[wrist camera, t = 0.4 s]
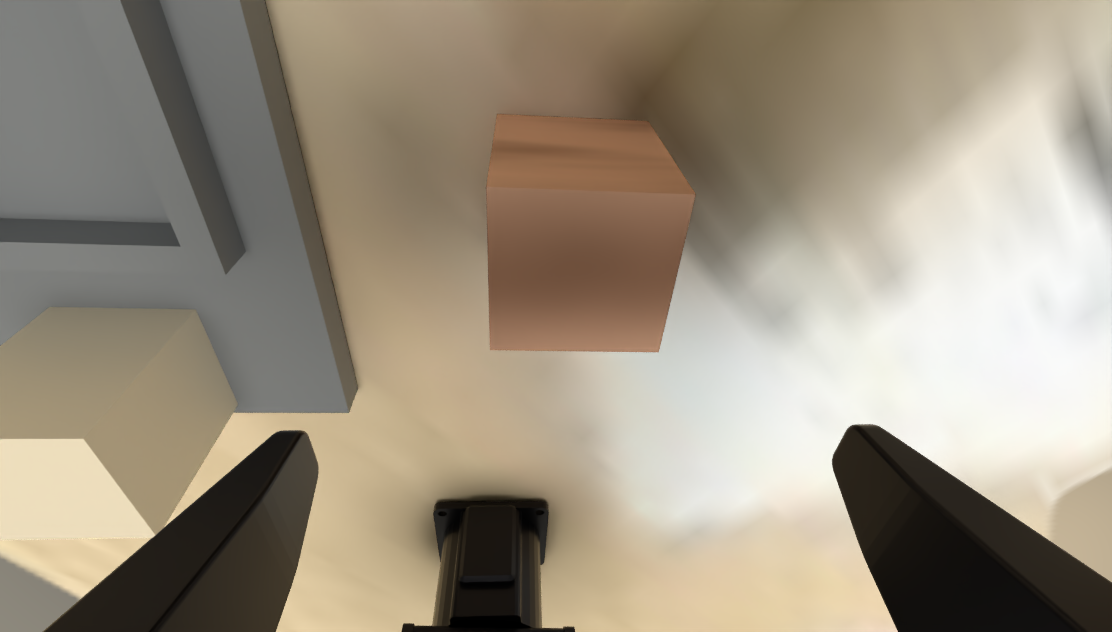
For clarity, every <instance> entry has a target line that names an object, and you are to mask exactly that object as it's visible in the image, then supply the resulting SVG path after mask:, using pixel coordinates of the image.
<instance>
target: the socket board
mask: <svg viewBox="0 0 1112 632" xmlns="http://www.w3.org/2000/svg"><path fill="white" fill-rule="evenodd" d="M357 389H358V387H357V383H356V379H355V375H354V370H353V366H352V362H351V358H350V354H349V350H348V345H347V341H346V337H345V333H344V329H343V325H342V320H341V316H340V312H339V308H338V304H337V300H336V295H335V291H334V287H333V283H332V279H331V275H330V270H329V266H328V262H327V258H326V254H325V250H324V245H323V241H322V237H321V233H320V229H319V225H318V220H317V216H316V212H315V208H314V204H313V200H312V195H311V191H310V187H309V183H308V179H307V175H306V170H305V166H304V162H303V158H302V154H301V150H300V145H299V141H298V137H297V133H296V129H295V125H294V120H293V116H292V112H291V108H290V104H289V100H288V95H287V91H286V87H285V83H284V79H283V75H282V70H281V66H280V62H279V58H278V54H277V50H276V45H275V41H274V37H273V33H272V29H271V25H270V20H269V16H268V12H267V8H266V4H265V0H0V540H48V539H117V538H153V537H154V536H155V535H156V534H157V533H158V532H160V531H161V530H162V529H163V528H164V526H165V525H166V523H167V521H168V520H169V518H170V516H171V515H172V513H173V511H174V510H175V508H176V506H177V505H178V503H179V501H180V500H181V498H182V496H183V495H184V493H185V491H186V490H187V488H188V486H189V485H190V483H191V482H192V480H193V478H194V477H195V475H196V473H197V472H198V470H199V468H200V467H201V465H202V463H203V462H204V460H205V458H206V457H207V455H208V453H209V452H210V450H211V448H212V447H213V445H214V443H215V442H216V440H217V438H218V437H219V435H220V434H221V432H222V430H223V429H224V427H225V425H226V424H227V422H228V420H229V419H230V417H231V415H232V414H233V413H349V411H350V409H351V406H352V403H353V400H354V398H355V395H356V392H357Z"/></svg>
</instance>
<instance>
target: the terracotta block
mask: <svg viewBox="0 0 1112 632" xmlns="http://www.w3.org/2000/svg"><path fill="white" fill-rule="evenodd" d="M695 196H696V194H695V192H694V191H693V189H692V188H691V186H690V185H689V183H688V182H687V180H686V179H685V177H684V175H683V174H682V172H681V171H680V169H679V168H678V166H677V165H676V163H675V162H674V160H673V159H672V157H671V155H670V154H669V152H668V151H667V149H666V148H665V146H664V145H663V143H662V142H661V140H660V139H659V137H658V135H657V134H656V132H655V131H654V129H653V128H652V126H651V125H650V123H649V122H648V121H637V120H615V119H594V118H573V117H552V116H530V115H509V114H497V118H496V125H495V132H494V138H493V145H492V152H491V158H490V165H489V172H488V178H487V185H486V199H487V242H488V285H489V328H490V350H525V351H602V352H659V349H660V344H661V340H662V336H663V332H664V327H665V323H666V319H667V315H668V311H669V306H670V302H671V298H672V294H673V289H674V285H675V281H676V277H677V272H678V268H679V264H680V260H681V255H682V251H683V247H684V243H685V239H686V234H687V230H688V226H689V222H690V217H691V213H692V209H693V205H694V200H695Z"/></svg>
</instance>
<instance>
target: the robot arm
mask: <svg viewBox="0 0 1112 632" xmlns="http://www.w3.org/2000/svg"><path fill="white" fill-rule="evenodd" d="M832 466H833V471H834V474H835V477H836V479H837V482H838V485H839V488H840V491H841V494H842V497H843V500H844V503H845V505H846V508H847V511H848V514H849V517H850V520H851V523H852V526H853V529H854V531H855V534H856V537H857V540H858V543H859V545H860V548H861V551H862V553H863V556H864V558H865V560H866V563H867V565H868V567H869V570H870V572H871V574H872V576H873V578H874V581H875V583H876V585H877V587H878V589H879V591H880V594H881V596H882V598H883V600H884V602H885V604H886V607H887V609H888V611H889V613H890V615H891V617H892V620H893V622H894V624H895V626H896V628H897V630H898V632H1112V582H1110V581H1109V580H1107V579H1106V578H1104V577H1103V576H1101V575H1100V574H1098V573H1097V572H1095V571H1094V570H1093V569H1091V568H1089V567H1088V566H1087V565H1085V564H1084V563H1082V562H1081V561H1079V560H1078V559H1076V558H1074V557H1073V556H1072V555H1070V554H1069V553H1067V552H1066V551H1064V550H1063V549H1061V548H1060V547H1058V546H1057V545H1055V544H1054V543H1052V542H1051V541H1049V540H1048V539H1046V538H1045V537H1043V536H1042V535H1040V534H1039V533H1037V532H1036V531H1034V530H1033V529H1032V528H1030V527H1029V526H1027V525H1026V524H1024V523H1023V522H1021V521H1020V520H1018V519H1017V518H1015V517H1014V516H1012V515H1011V514H1009V513H1008V512H1006V511H1005V510H1003V509H1002V508H1000V507H999V506H997V505H996V504H994V503H993V502H991V501H990V500H988V499H987V498H985V497H984V496H982V495H981V494H979V493H978V492H976V491H975V490H973V489H972V488H970V487H969V486H968V485H966V484H965V483H963V482H962V481H960V480H959V479H957V478H956V477H954V476H953V475H951V474H950V473H948V472H947V471H945V470H944V469H942V468H941V467H939V466H938V465H936V464H935V463H933V462H932V461H930V460H929V459H927V458H926V457H924V456H923V455H921V454H920V453H918V452H917V451H915V450H914V449H912V448H911V447H909V446H908V445H907V444H905V443H904V442H902V441H901V440H899V439H898V438H896V437H895V436H893V435H892V434H890V433H889V432H887V431H886V430H884V429H883V428H881V427H879V426H877V425H873V424H859V425H852V426H850V427H849V428H848V429H847V430H846V432H845V434H844V436H843V438H842V439H841V441H840V443H839V445H838V447H837V449H836V450H835V452H834V454H833V458H832ZM317 479H318V462H317V459H316V456H315V453H314V450H313V448H312V445H311V442H310V439H309V436H308V434H307V433H306V432H304V431H301V430H295V431H279V432H276V433H275V434H273V435H272V436H271V437H270V438H268V439H267V440H266V441H265V442H264V443H263V444H261V445H260V446H259V447H258V448H257V449H255V450H254V451H253V452H252V453H251V454H250V455H248V456H247V457H246V458H245V459H244V460H243V461H241V462H240V463H239V464H238V465H237V466H236V467H234V468H233V469H232V470H231V471H230V472H229V473H227V474H226V475H225V476H224V477H223V478H222V479H220V480H219V481H218V482H217V483H216V484H215V485H213V486H212V487H211V488H210V489H209V490H208V491H206V492H205V493H204V494H203V495H202V496H201V497H199V498H198V499H197V500H196V501H195V502H194V503H192V504H191V505H190V506H189V507H188V508H187V509H185V510H184V511H183V512H182V513H181V514H180V515H178V516H177V517H176V518H175V519H174V520H173V521H171V522H170V523H169V524H168V525H167V526H166V527H164V528H163V529H162V530H161V531H160V532H158V533H157V534H156V535H155V536H154V537H153V538H151V539H150V540H149V541H148V542H147V543H146V544H144V545H143V546H142V547H141V548H140V549H139V550H137V551H136V552H135V553H134V554H133V555H132V556H130V557H129V558H128V559H127V560H126V561H125V562H123V563H122V564H121V565H120V566H119V567H118V568H116V569H115V570H114V571H113V572H112V573H111V574H109V575H108V576H107V577H106V578H105V579H104V580H102V581H101V582H100V583H99V584H98V585H97V586H95V587H94V588H93V589H92V590H91V591H90V592H88V593H87V594H86V595H85V596H84V597H83V598H81V599H80V600H79V601H78V602H77V603H76V604H74V605H73V606H72V607H71V608H70V609H69V610H67V611H66V612H65V613H64V614H63V615H62V616H60V617H59V618H58V619H57V620H56V621H55V622H53V623H52V624H51V625H50V626H49V627H48V628H46V629H45V630H44V631H43V632H276V629H277V626H278V623H279V621H280V618H281V615H282V612H283V609H284V606H285V603H286V600H287V597H288V595H289V592H290V589H291V586H292V583H293V580H294V576H295V573H296V570H297V566H298V562H299V558H300V554H301V549H302V545H303V541H304V536H305V532H306V528H307V523H308V519H309V514H310V510H311V506H312V501H313V497H314V493H315V488H316V484H317ZM548 513H549V512H548V504H547V503H545V502H542V501H524V502H441V503H437V504H436V505H435V507H434V513H433V515H434V522H435V528H436V535H437V542H438V549H439V556H440V562H441V564H440V571H439V579H438V586H437V594H436V602H435V609H434V617H433V624H432V626H414V624H411V623H404V624H403V628H402V632H575V629H574V627H563V628H542V611H541V572H540V565H542V564H543V563H544V558H545V547H546V536H547V524H548Z"/></svg>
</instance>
